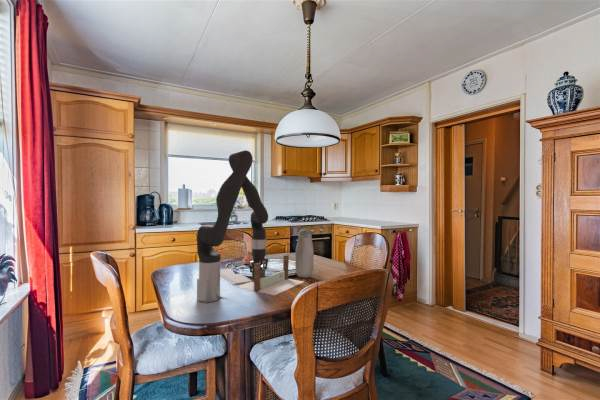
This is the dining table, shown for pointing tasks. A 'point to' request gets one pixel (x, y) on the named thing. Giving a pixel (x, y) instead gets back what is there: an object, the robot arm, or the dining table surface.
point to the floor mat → (274, 286)
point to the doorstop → (261, 274)
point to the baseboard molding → (233, 277)
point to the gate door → (272, 279)
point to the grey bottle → (304, 254)
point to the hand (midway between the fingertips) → (258, 278)
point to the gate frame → (257, 272)
